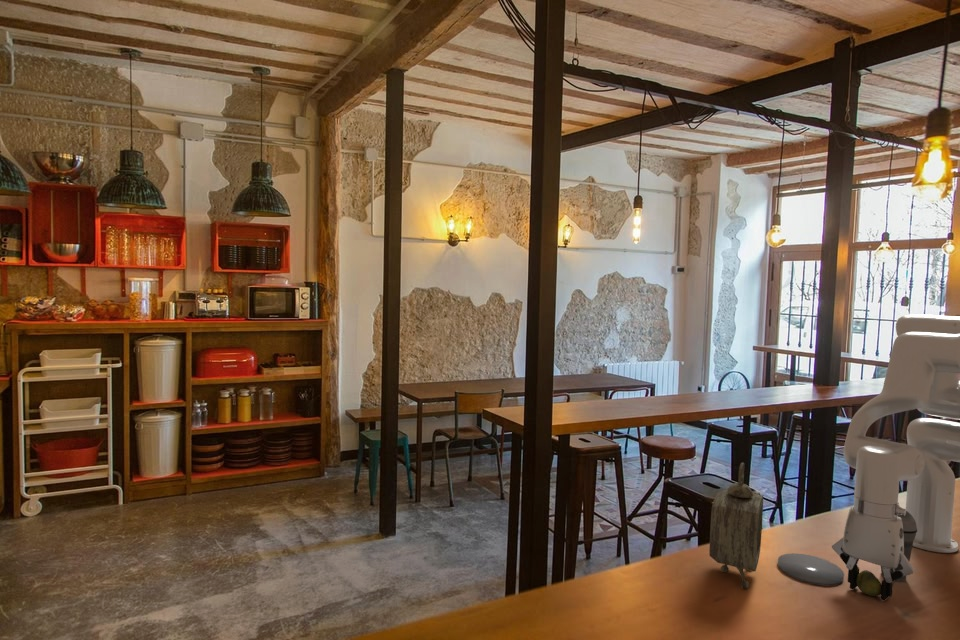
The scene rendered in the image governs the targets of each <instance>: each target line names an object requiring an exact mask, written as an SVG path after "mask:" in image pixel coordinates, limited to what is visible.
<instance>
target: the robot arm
mask: <svg viewBox="0 0 960 640" xmlns="http://www.w3.org/2000/svg"><path fill="white" fill-rule="evenodd" d="M895 332H896V335H897V337H896V338H895V339H894V341H893V345H892V349H891V352H890V356H889V362H888V365H887V370H886V373H885V377H884V382H883V386H882V389H881V392H880V393H879V394H878V395H876V396H874V397H872V399H871V398H870V400H868V401H867V402H866V403H864V404H863V405H862V406H861V407H860V408H858V410H857V411H856V412H855V413H854V415H853V416H852V418H851V420H850V421H849V422H850V423H849V426H848V429H847V433H846V437H845V442H844V445H843V446H844V447H843V459H844V461H845V463H846V464H847V466H848V467H850V468H853V469H855V478H854V479H855V480H854V490H853V491H854V494H853V495H854V496H853V506H851V507H850V508H849V511H848V514H847V517H846V520H845V521H846V522H845V526H844V532H843V537H841V538H840V539H839V540H837V541H835V543H834V544H832V545H831V548H832V550H833V551H834V552H835V553H836V554H837V556H839V558H840V559H841V560H842V562H843V563H844V564H845V567H846V569H847V570H848V571H847V583H849V589H850V590H855V589H856V588H858V586H857V583H856V578H857V576H858V574H859V573H860V567H859V566H858V563H859V560H861V561H865V562H867V563H871V564H873V565H877V566H879V567H881V566H882V569H883V573H884V577H883V579H882V581H881V595H880V600H882V601H884V602H885V601H887V599H888V598H891V597H892V596H893V587H894V582H896V581H895V580H897V579H899V578H901V577H903V576H906V577H907V576H909V575H912V574H914V572H915V571H916V570H915V568H914V567H913V565H912V564H911V561H910V562H909V561H908V559H907V558H906V556H905V555H904V533H903V524H902V519H901V518H900V517H898V515H904V516H905V514H906V511H908V512H909V513H910V514H911V515H912V516H913V518H914V519H915V522H916V525H917V532H916V536H915V539H914V540H913V545H912V547H914V548H918V549H920V550H924V551H928V552H934V553H941V554H942V553H943V554H951V553H956V552H958V551H959V543H958V542H957V541H956V540H954V539H953V538H952V531H953V519H954V518H953V516H954V507H955V506H954V503H955V491H956V477H955V474H954V471H953V470H952V468H951V466H949V464H948V462H947V461H951V462H957V463H960V422H957V421H960V379H959V376H958V374H960V316H954V315H939V314H919V313H918V314H917V313H916V314H906V315H901V317H899V318H898V319H897V320H896V323H895ZM916 409H917V411H919V412H920V413H921V414H925V415H929V416H933V418H931V417H919V418H915V419H913V420H912V421H910V422H909V424H908V425H907V427H906V428H907V429H906V440H907V443H901V442H897V441H892V440H888V439H882V438H876V437H871V436H866V434H867V433H868V429H869V428H870V426H872V424H874V423H875V422H876V421H878V420H879V419H881V418H885V417H887V416H889V415H893V414H897V413H903V412H907V411H913V410H916ZM934 417H938V418H934ZM939 418H940V419H939ZM941 418H944V419H941ZM945 418H946V419H952V420H957V421H951V420H945ZM900 482H907V486H906V499H905V508H902V506H900V503H899V492H900ZM898 563H900V564H901V565H902V567H903V568H902V569H898V570H896V571H894V569H895V568H897V567H898Z"/></svg>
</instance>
